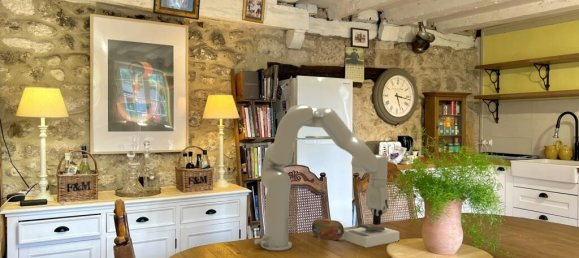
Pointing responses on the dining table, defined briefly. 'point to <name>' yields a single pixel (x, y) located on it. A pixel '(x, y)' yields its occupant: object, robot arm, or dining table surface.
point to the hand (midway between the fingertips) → (376, 224)
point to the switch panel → (370, 236)
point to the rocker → (371, 227)
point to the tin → (327, 229)
